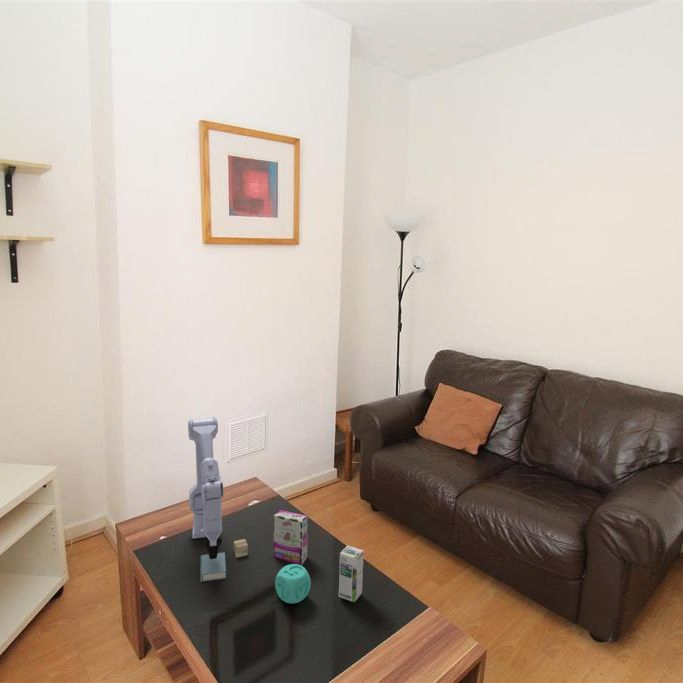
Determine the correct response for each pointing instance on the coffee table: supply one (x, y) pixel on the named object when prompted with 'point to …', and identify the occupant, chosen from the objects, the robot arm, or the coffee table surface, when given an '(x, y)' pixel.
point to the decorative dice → (292, 583)
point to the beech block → (240, 548)
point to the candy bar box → (290, 536)
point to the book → (212, 567)
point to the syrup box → (351, 573)
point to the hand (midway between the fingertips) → (213, 554)
